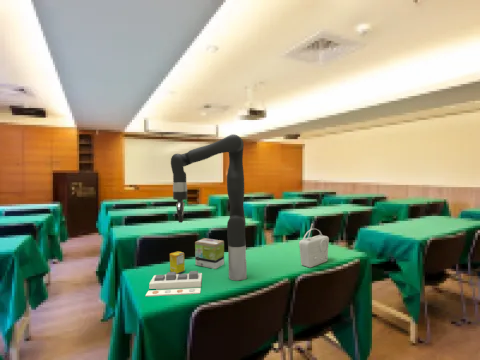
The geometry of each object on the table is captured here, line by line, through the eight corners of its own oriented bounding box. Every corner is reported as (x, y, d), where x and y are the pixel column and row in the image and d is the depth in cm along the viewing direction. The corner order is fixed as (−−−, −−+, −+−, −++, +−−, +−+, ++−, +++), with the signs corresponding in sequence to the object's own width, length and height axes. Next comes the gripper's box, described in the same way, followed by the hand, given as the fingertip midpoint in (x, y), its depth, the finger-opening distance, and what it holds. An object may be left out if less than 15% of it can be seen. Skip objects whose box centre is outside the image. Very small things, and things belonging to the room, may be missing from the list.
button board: (202, 278, 144) (201, 272, 144) (200, 287, 133) (200, 281, 133) (154, 280, 142) (154, 275, 142) (149, 289, 131) (149, 283, 131)
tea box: (194, 265, 164) (194, 241, 164) (204, 260, 173) (204, 237, 173) (215, 269, 157) (215, 244, 157) (224, 264, 166) (224, 240, 166)
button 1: (198, 276, 141) (198, 270, 140) (197, 279, 136) (197, 273, 136) (189, 277, 140) (189, 271, 140) (189, 280, 136) (188, 274, 136)
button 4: (164, 280, 139) (164, 274, 139) (163, 283, 135) (163, 277, 135) (156, 281, 139) (156, 275, 139) (154, 284, 135) (154, 278, 134)
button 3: (176, 277, 140) (175, 271, 139) (174, 280, 135) (174, 274, 135) (167, 278, 139) (167, 272, 139) (166, 281, 135) (166, 275, 135)
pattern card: (200, 288, 131) (200, 287, 131) (200, 293, 126) (200, 292, 126) (148, 291, 129) (148, 290, 129) (145, 296, 124) (145, 295, 124)
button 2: (187, 279, 140) (187, 273, 140) (186, 282, 136) (186, 276, 136) (178, 279, 140) (178, 274, 140) (177, 283, 136) (177, 277, 135)
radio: (310, 269, 154) (309, 225, 154) (298, 266, 161) (297, 223, 160) (331, 261, 168) (331, 221, 167) (320, 258, 175) (319, 219, 174)
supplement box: (178, 269, 158) (177, 250, 158) (185, 271, 154) (184, 252, 154) (169, 272, 153) (169, 253, 153) (176, 275, 150) (176, 255, 149)
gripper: (185, 191, 143) (186, 224, 143) (188, 189, 156) (188, 219, 156) (171, 191, 142) (171, 224, 142) (174, 190, 155) (175, 220, 156)
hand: (180, 222), depth 149 cm, fingers closed
